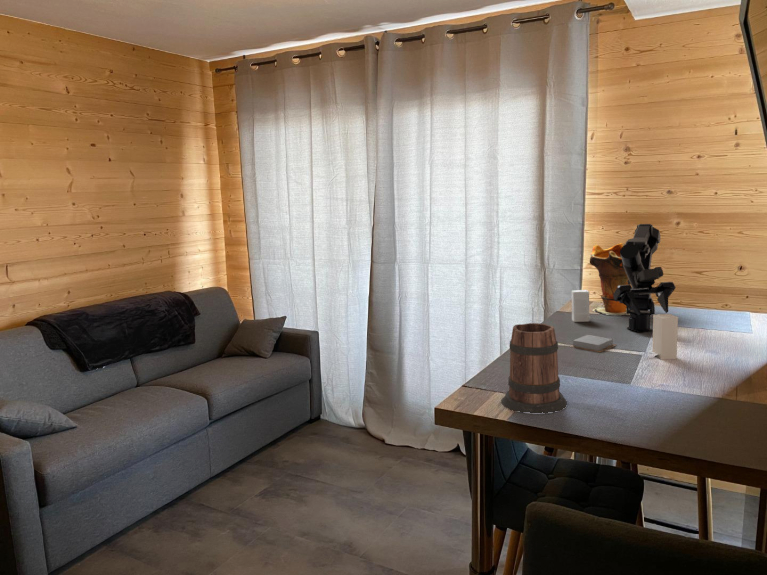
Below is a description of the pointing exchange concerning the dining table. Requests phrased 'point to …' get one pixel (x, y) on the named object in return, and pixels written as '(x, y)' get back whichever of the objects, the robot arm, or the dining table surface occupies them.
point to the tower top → (592, 342)
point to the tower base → (594, 350)
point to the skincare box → (580, 305)
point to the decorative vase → (610, 277)
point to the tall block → (665, 336)
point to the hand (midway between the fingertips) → (653, 313)
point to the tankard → (534, 370)
